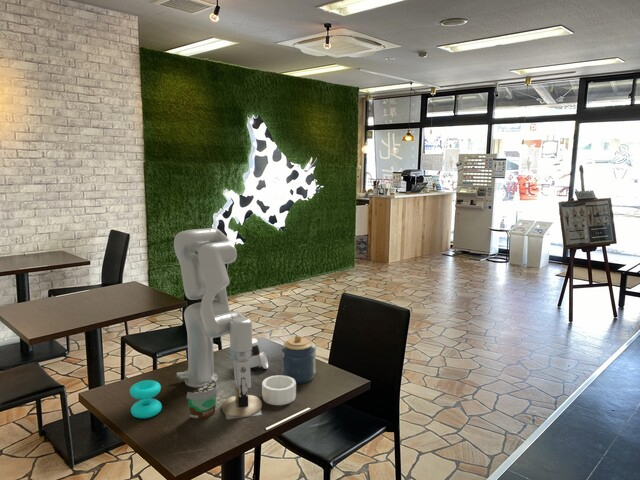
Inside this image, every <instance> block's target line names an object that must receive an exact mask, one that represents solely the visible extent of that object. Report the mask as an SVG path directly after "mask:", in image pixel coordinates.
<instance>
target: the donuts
mask: <svg viewBox="0 0 640 480" xmlns="http://www.w3.org/2000/svg"><path fill="white" fill-rule="evenodd" d="M161 389H162V386H161V383H159V382H158V381H157V380H152V379H145V380H141V381H138V382H136V383H134V384H133V385H131V387H130V389H129V394H130V396H131V397H132V398H134V399H136V400H138V401H136V402H134V403H133V405H132V406H131V408H130V413H131V415H132V416H133V417H134V418H136V419H149V418H153V417H154V416H156V415H158V414H159V413H160V412H161V411H162V408H163V405H162V403H161V401H159V399H156V398H154V397H156V396H157V395H158V394H159V393H160V392H161Z"/></svg>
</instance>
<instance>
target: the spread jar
mask: <svg viewBox="0 0 640 480" xmlns="http://www.w3.org/2000/svg"><path fill="white" fill-rule="evenodd" d="M267 358H268V357H267V355H266V353H265V351H262V352H261V350H260V348H259V346H258V339H256V338H253V337H252V358H251V359H250V371H254V370H256V369H258V368H260V366H262V368H263V369H265V370H266V369H269V362H268V359H267Z"/></svg>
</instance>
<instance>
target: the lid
mask: <svg viewBox="0 0 640 480" xmlns="http://www.w3.org/2000/svg"><path fill="white" fill-rule="evenodd" d="M240 387H242V386H240ZM234 389H235V394H234V395H233V396H230V397H228V398H227V399H226V398H225V399H226V400H225V401H224V402H222V403H221V412H222V413H223V414H226V415H228V416H232V417H241V418H247V416H249V417H252V416H251V415H254V414H256V413H257V412H259V411H260V410H261V411H262V409H263V408H262V407H263V403H262V402H263V400H261V399H260V398H259V397H257V396H256V395H251V394H249V389H248V387H247V393H248V406H247V407H240V408H239V404H238V396H239V389H238V388H237V386H236V385H235V388H234ZM241 391H242V389H241ZM255 396H256V397H255ZM226 415H225V416H226Z"/></svg>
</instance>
